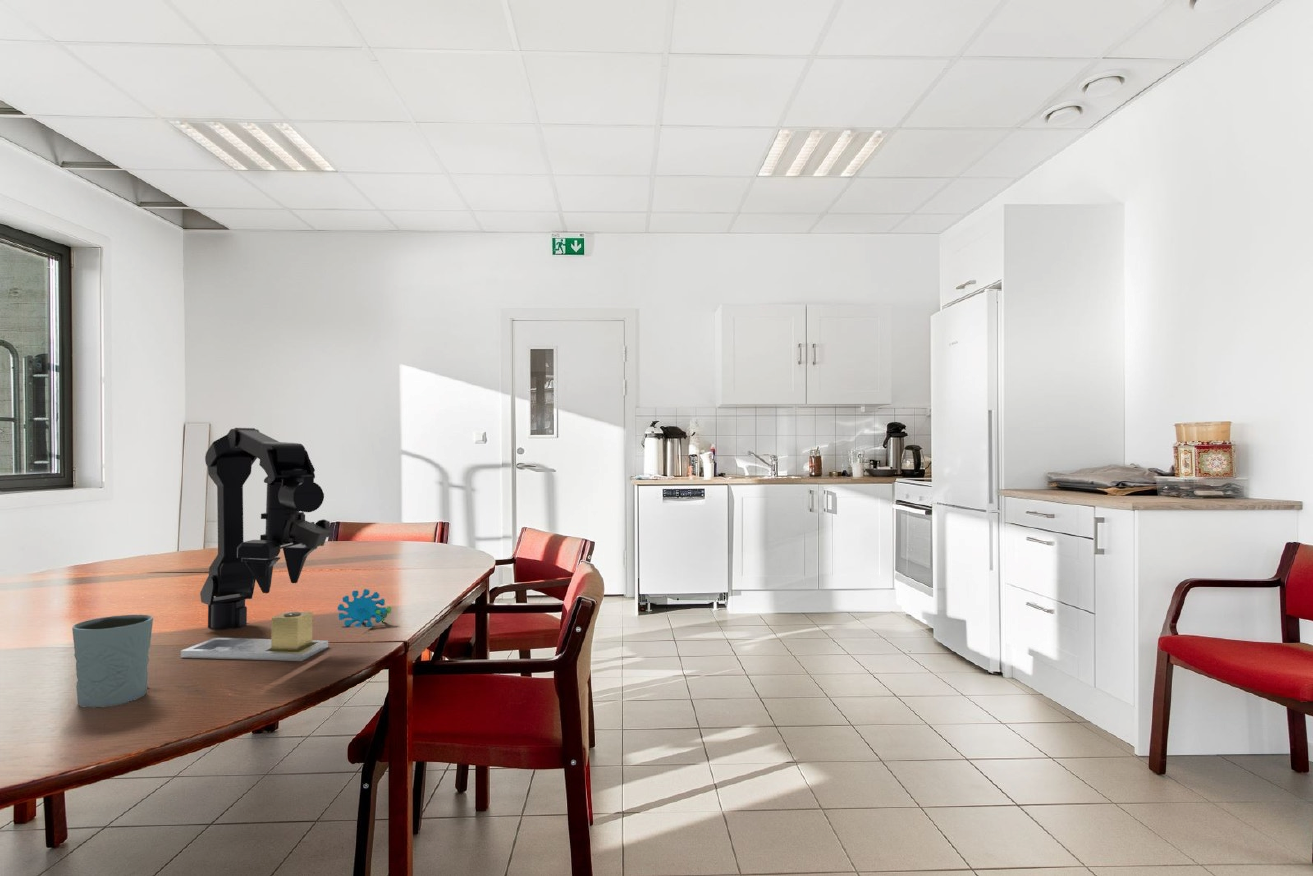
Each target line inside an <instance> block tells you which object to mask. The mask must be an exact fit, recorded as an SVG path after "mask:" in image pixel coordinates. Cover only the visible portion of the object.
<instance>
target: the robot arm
mask: <svg viewBox="0 0 1313 876" xmlns="http://www.w3.org/2000/svg"><path fill="white" fill-rule="evenodd" d="M257 459H259V466H260V467H261V469H262V470H264V472H265V474H266V477H265V478H264V479H263V483H265V484H266V501H265V502H266V503H265V507H266V508H265V512H263V513H260V519H261V520H265V532H264V533H263V534H261V535H260V534H259V535H260V538H259V539H252V540H251V539H250V540H246V541H244V485H245V483H246V482H247V480H248V479H249V477H250V476H251V474H252V465H253V464H254V463H255V462H256V461H257ZM204 460H205V465H206V467H207V473H208V476H209V477H210V479H211V480H212V482H213V483H214V484H215V485H216V489H217V491H216V493H217V494H216V495H217V497H216V498H217V501H216V503H217V555H216V557H215V558H214V559H213V561H212V563H211V564H210V566H209V567H208V576H207V578H206V580H205V581H204V584H203V586H202V588H201V590H200V596H199V597H200V602H201V603H202V604H205V605H207V628H208V629H212V630H229V629H240V628H243V627H245V626H247V625H250V623H248V621H247V618H248V607H247V606H246V600H251V599H253V595H254V591H255V585H256V583H257V585H258V587H259V589H260V590H261V592H262V594H269V593H270V590H271V586H272V578H273V571H274V565H275V564H276V563H277V562H279V560H280V559H281V556H279V554H280V553H281V549H282V551H283V552H282V553H283V556H284V560H285V564H286V565H285V566H286V568H287V572H288V573H287V574H288V577H289V580H290V583H291V584H298V582H299V579H300V575H301V573H302V571H303V569H304V568H303V567H304V565H305V563H306V559H307V558H308V556H309V555H310V554H311V553H312V552H314V551H315V550H317V549H318V547H323V546H324V545H325V543H326V541H327V538H329V537H331V536H332V533H331V531H332V529H331V522H330V521H329V520H326V519H319V520H317V522H316V523H315V522H314V521H308V520H306V513H311V512H315V511H316V510H318V509H319V508H320V507H321V506H322V504H323V502H324V498H325V493H324V491H323V489H322V487H321V486H320V485H319V484H318V483H317V482H315V478H316V475H315V471H316V470H315V467H314V465H313V463H312V461H311V459H310V457H309V453H308V451H307V449H306V448H305V446H304V445H303V444H301V443H298V442H283V441H282V442H281V441H279V440H276V439H274V438H272V437H270V436H268V435H267V434H264V433H262V432H260V430H259V429H257V428H254V427H234V428H231V429H230V430H229V431H228V433H226V435H224V436H221V437H220V438H218V439H216V440H214V441H213V442H211V444H210V446H209V448H208V449H207V450H206V452H205V457H204Z"/></svg>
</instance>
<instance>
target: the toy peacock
mask: <svg viewBox="0 0 1313 876" xmlns="http://www.w3.org/2000/svg"><path fill="white" fill-rule="evenodd" d="M370 594H371V593H370V589H367V588H365V589H363V590H362V594H361V596H360V597H358V596H359V591H358V590H353V591H352V592H351V595H352V597H353V600H352V601H349V600H350V597H349V595H345V596H343V597H342V602H343V603H345V604H347V605H348V606H347V607H345V605H344V604H343V603H339V604H338V606H337V611H338V612H339V613H338V619H339V621H343V620H344V619H345V620H344V621H343V624H344V626H345V627H347V628H348V627H349V628H350V627H351V625H352V624H353V623H355V624H354V625H353V626H354V628H361V627H362V624H363V622H364V623H365V622H366V621H367V622H366V623H365V627H366V628H373V622H372V619H375V623H377V624H379V623H380V622H381V621H384V620H385V621H386V618H387V617H388V614H391V613H392V606H390V605H389V606H387V607H386V606H385V605H386V603H385V600H386V599H385V598H381V599H379V598H380V594H379V592H377V591H375V592H373V593H372V594H371V595H370ZM369 595H370V596H369ZM367 596H368V597H367ZM374 599H375V600H374ZM378 605H380V606H381V607H380V606H378ZM383 606H385V607H383ZM343 612H345V613H346V614H345V613H343ZM346 619H347V620H346Z"/></svg>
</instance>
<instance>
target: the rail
mask: <svg viewBox="0 0 1313 876" xmlns="http://www.w3.org/2000/svg"><path fill="white" fill-rule="evenodd" d="M328 648H329V640H318V639H316V640H315V639H312V646H310V647H308V648H306V649H304V650H302V651H300V652H282V651H271V638H245V637H243V638H241V637H212V638H210V639H208V640H205V641H203V642H200V643H197V644H195V645H192V646H190V647H186V648H184V649H181V650H180V658H183V659H185V658H187V659H213V660H214V659H219V660H220V659H221V660H254V661H255V660H257V661H260V660H261V661H289V662H291V661H293V662H294V661H295V662H302V661H304V660H306V659H309V658H311V657H312V656H314V655H316V654H318V653H319V652H321V651H324V650H326V649H328Z"/></svg>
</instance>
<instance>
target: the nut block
mask: <svg viewBox="0 0 1313 876" xmlns="http://www.w3.org/2000/svg"><path fill="white" fill-rule="evenodd" d="M313 617H314V616H313V611H285V612H283V613H280V614H278V615H275V616H273V617H271V628H270V629H271V630H270V631H271V636H270V639H271V651H282V652H300V651H302V650H304V649H306V648H308V647H310V646H312V640H313Z"/></svg>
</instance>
